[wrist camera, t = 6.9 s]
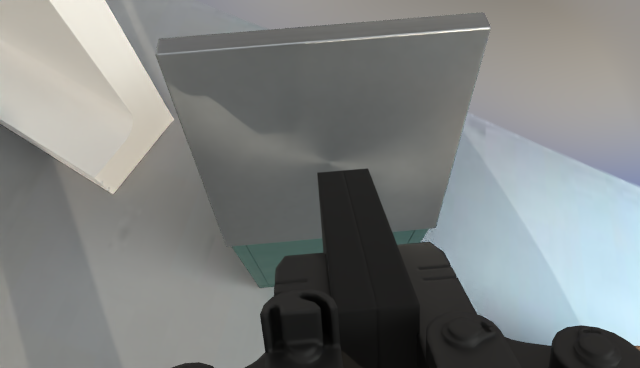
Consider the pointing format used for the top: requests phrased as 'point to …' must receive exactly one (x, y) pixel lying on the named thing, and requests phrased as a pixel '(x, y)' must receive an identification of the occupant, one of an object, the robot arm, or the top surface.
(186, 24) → the top surface
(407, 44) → the thin metal plate
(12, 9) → the block
